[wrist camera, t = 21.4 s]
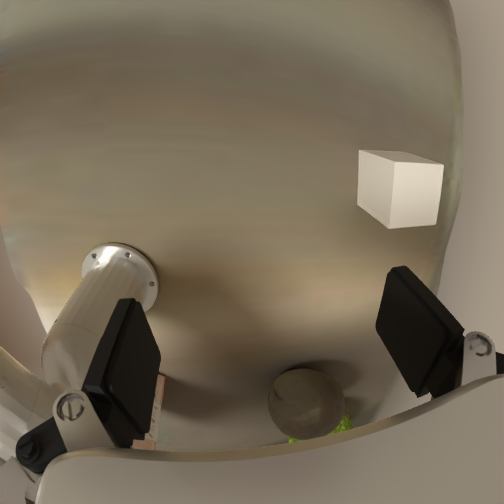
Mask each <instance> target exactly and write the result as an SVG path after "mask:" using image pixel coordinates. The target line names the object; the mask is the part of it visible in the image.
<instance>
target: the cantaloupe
mask: <svg viewBox="0 0 504 504" xmlns="http://www.w3.org/2000/svg"><path fill="white" fill-rule="evenodd" d="M268 408H269V412H270V415H271V417H272V419H273V421H274V423H275V424H276V426H277V427H278V428H279V429H280V430H281V431H282V432H283V433H284V434H286V435H288V436H290V437H292V438H295V439H298V440H309V439H313V438H318V437H323V436H326V435H328V434H329V433H331V432H332V431H333V430H334V429H335V428H336V427H337V426H338V425H339V424H340V422H341V421H342V419H343V417H344V413H345V408H346V401H345V397H344V394H343V392H342V390H341V388H340V387H339V385H338V384H337V383H336V382H335V381H334V380H333V379H332V378H331V377H329V376H328V375H326V374H324V373H321V372H319V371H316V370H312V369H294V370H290V371H287V372H285V373H283V374H281V375H280V376H279V377H278V378H277V379H276V380H275V381H274V383H273V384H272V387H271V389H270V392H269V398H268Z"/></svg>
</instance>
